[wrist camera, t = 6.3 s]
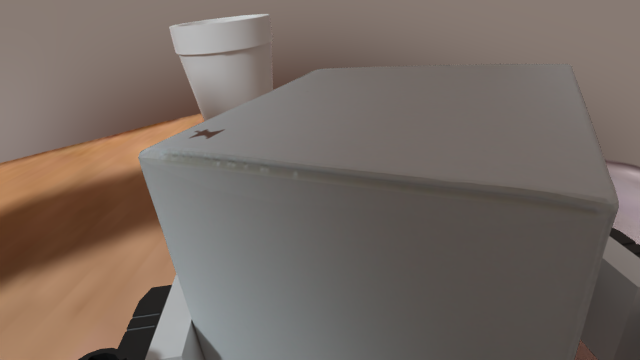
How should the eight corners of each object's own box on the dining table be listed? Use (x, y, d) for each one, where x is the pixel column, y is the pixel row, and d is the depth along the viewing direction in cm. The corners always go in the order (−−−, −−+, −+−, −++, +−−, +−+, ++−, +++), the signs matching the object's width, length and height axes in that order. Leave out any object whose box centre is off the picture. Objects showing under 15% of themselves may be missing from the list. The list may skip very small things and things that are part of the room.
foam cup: (184, 158, 41) (148, 29, 36) (239, 129, 48) (216, 17, 43) (254, 169, 37) (225, 23, 31) (304, 135, 44) (288, 11, 38)
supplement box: (500, 667, 9) (644, 210, 4) (248, 509, 12) (115, 145, 7) (517, 395, 15) (582, 56, 9) (341, 337, 18) (311, 61, 13)
